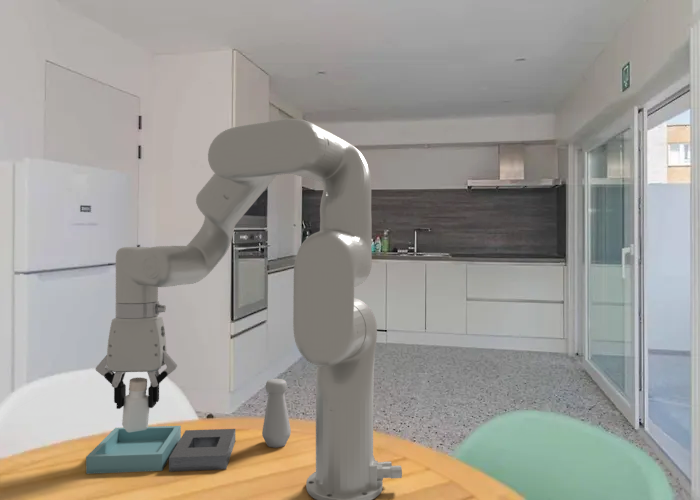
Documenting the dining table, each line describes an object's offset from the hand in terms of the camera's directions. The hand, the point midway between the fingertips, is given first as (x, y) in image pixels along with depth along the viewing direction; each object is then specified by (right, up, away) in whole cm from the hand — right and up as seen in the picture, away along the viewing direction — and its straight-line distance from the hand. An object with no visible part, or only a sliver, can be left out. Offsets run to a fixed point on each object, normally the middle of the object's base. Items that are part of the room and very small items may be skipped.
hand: (136, 405), depth 101 cm
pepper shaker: (0, -5, 0) cm, 5 cm away
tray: (0, -10, 0) cm, 10 cm away
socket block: (+13, -10, 0) cm, 16 cm away
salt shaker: (+26, -10, +6) cm, 28 cm away
